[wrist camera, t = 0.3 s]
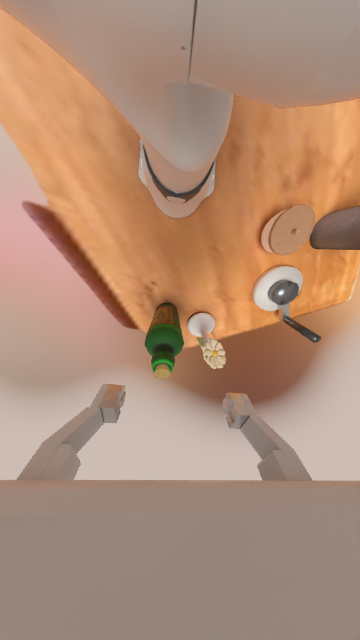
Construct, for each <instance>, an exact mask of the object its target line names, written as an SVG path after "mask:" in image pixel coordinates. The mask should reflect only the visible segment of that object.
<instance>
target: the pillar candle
mask: <svg viewBox="0 0 360 640" xmlns="http://www.w3.org/2000/svg"><path fill="white" fill-rule="evenodd" d="M310 242H311V245H312V247H313V248H315V249H336V250H360V206H358V207H353V208H348V209H344V210H339V211H335V212H331V213H329V214H327V215H326V216H325V217H323V218H322V219H321V220H320V221H319V222H318V223H317V224H316V226H315V227H314V229H313V231H312V233H311V237H310Z"/></svg>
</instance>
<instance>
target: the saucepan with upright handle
mask: <svg viewBox="0 0 360 640" xmlns="http://www.w3.org/2000/svg"><path fill="white" fill-rule="evenodd" d="M298 292H299V286H298V284H297V283H295V282H292V281H288V280H280V281H278V282H276V283H275V284H274V285H273V286H272V287H271V288H270V290H269V292H268V298H269V299H270V300H271V301H272V302H274V303H276V304H278V311H279V319H280V321H282V322H283V323H284V322H285V323H286V324H288V325H289V326H290V327H292V328H293V329H295V330H296V331H298V332H299V333H301V334H302V335H303V336H305V337H306V338H308V339H309V340H311V341H312V342H314V343H316V342H318V341H320V340H321V337H320V336H319V335H317V334H315V333H314V332H312V331H311V330H309V329H307V328H306V327H304V326H303V325H301V324H299V323H298V322H296V321H294V320H293V319H291V318H290V316H289V303H290V302H291V301H292V300H294V299H295V297H296V296H297V294H298Z"/></svg>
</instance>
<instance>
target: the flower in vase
mask: <svg viewBox="0 0 360 640" xmlns="http://www.w3.org/2000/svg"><path fill="white" fill-rule="evenodd" d="M214 326H215V321H214V318H213V317H212V316H211V315H210V314H207V313H198V314H195V315H194V316H192V317H191V318H190V319H189V321H188V325H187V327H188V330H189V332H190V333H191V334H193V335H195V336H202V338H203V339H201V338H197V339H198V341H199V343H200V346H201V348H202V351H203V355H204V360H206V362H207V363H208V364H210V366H211V367H213V369H216V367H217V368H220V367H221V368H223V364H225V360H226V358H225V356H224V354H225V351H223V347H222V346H221V343H217V340H215V341H214V340H213V339H210V337H209V336H208V334H209V333H210V332H211V331H212V330H213V329H214ZM222 363H223V364H222Z"/></svg>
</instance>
